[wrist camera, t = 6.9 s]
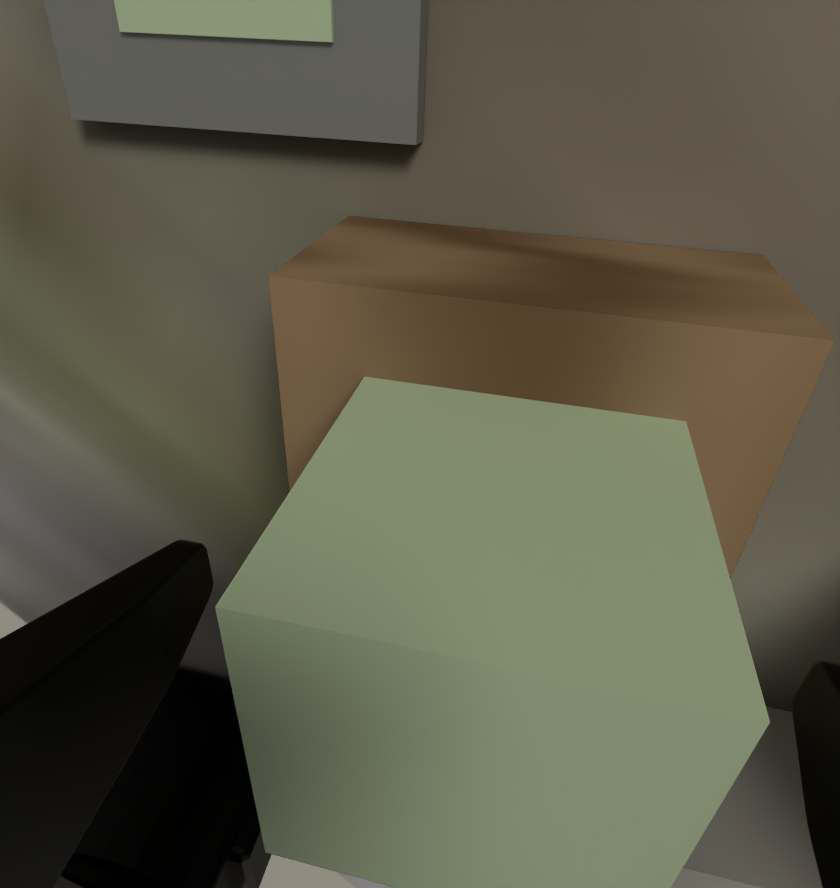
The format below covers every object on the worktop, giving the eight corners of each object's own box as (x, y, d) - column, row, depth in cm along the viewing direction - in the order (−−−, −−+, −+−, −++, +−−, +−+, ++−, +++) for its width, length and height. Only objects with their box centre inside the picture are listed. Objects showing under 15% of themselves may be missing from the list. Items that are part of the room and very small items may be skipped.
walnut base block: (356, 515, 17) (302, 627, 14) (349, 215, 13) (268, 276, 9) (655, 568, 16) (674, 704, 13) (762, 255, 11) (834, 340, 8)
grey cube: (601, 768, 21) (605, 943, 17) (635, 677, 18) (650, 860, 14) (756, 805, 20) (800, 997, 16) (816, 714, 18) (887, 918, 14)
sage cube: (366, 593, 13) (265, 852, 9) (364, 376, 10) (214, 606, 6) (614, 641, 12) (632, 951, 8) (686, 421, 9) (770, 722, 5)
